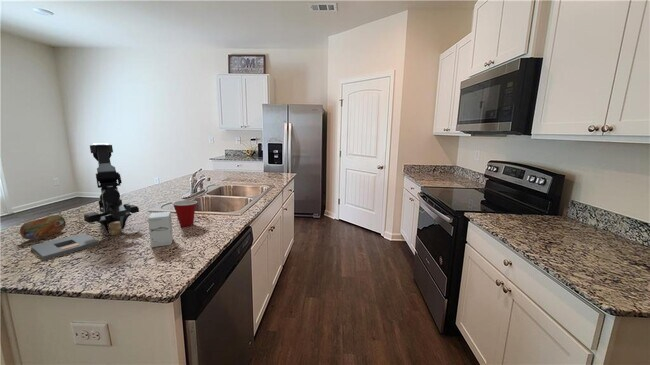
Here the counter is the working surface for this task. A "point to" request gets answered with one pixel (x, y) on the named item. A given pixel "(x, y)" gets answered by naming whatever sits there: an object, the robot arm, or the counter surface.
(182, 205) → the plastic cup
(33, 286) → the counter surface
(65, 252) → the hole plate
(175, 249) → the counter surface
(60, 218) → the tin
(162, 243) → the supplement box
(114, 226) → the peg
